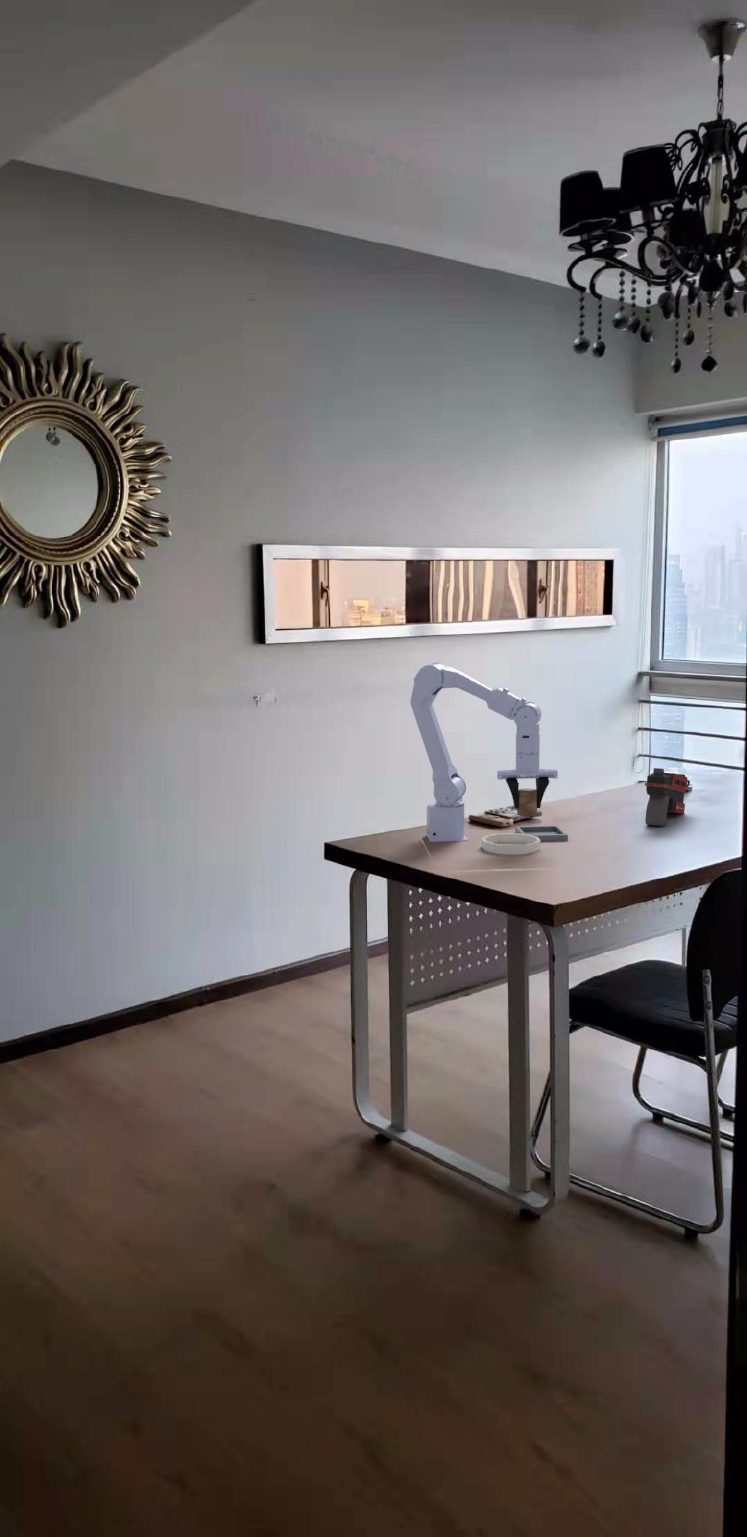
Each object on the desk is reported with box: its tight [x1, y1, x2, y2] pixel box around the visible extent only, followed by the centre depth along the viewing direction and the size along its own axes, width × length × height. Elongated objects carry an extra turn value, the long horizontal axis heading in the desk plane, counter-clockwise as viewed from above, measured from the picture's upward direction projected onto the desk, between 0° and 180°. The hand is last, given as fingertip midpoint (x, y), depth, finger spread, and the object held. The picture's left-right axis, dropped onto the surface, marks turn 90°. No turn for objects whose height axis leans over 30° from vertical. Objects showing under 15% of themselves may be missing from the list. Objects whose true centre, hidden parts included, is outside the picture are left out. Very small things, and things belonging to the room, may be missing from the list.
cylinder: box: [516, 788, 538, 817], centre depth 292 cm, size 5×5×6 cm
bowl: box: [481, 832, 541, 856], centre depth 287 cm, size 14×14×2 cm
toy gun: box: [644, 767, 688, 827], centre depth 320 cm, size 5×24×15 cm, turn 152°
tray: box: [514, 825, 569, 842], centre depth 300 cm, size 11×11×2 cm
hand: (527, 807), depth 292 cm, fingers closed on cylinder, 5 cm apart
